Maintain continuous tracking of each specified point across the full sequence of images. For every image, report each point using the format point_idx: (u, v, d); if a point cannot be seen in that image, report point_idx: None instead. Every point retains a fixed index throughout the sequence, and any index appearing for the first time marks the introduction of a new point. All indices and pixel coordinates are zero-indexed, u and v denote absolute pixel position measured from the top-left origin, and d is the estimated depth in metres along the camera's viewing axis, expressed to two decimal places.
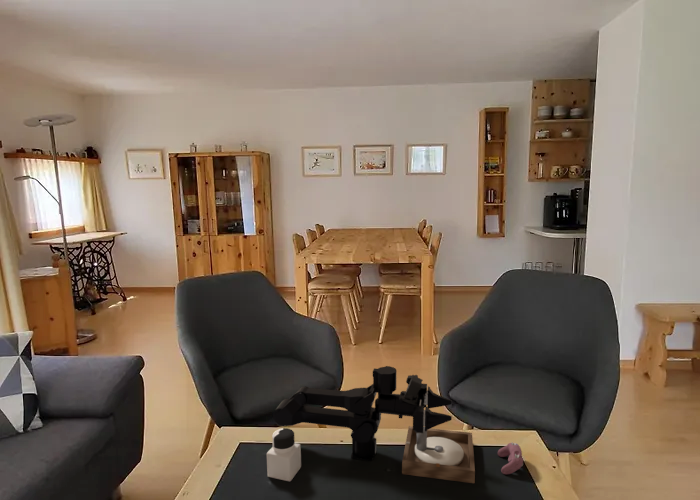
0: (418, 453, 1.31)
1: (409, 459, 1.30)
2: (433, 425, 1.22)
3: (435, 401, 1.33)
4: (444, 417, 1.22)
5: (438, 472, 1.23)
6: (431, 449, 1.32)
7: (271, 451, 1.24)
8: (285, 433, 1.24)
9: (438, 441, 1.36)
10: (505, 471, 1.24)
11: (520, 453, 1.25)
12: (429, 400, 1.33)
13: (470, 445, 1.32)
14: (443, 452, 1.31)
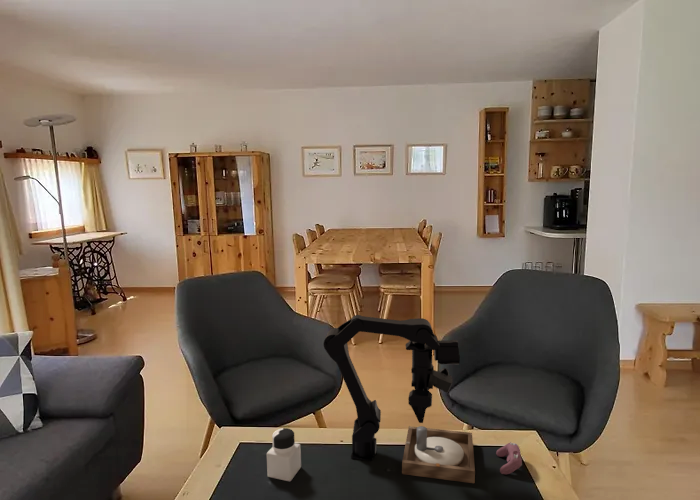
0: (418, 453, 1.31)
1: (409, 459, 1.30)
2: (414, 409, 1.25)
3: None
4: (422, 417, 1.26)
5: (438, 472, 1.23)
6: (431, 449, 1.32)
7: (271, 451, 1.24)
8: (285, 433, 1.24)
9: (438, 441, 1.36)
10: (503, 471, 1.24)
11: (519, 453, 1.25)
12: None
13: (470, 445, 1.32)
14: (443, 452, 1.31)
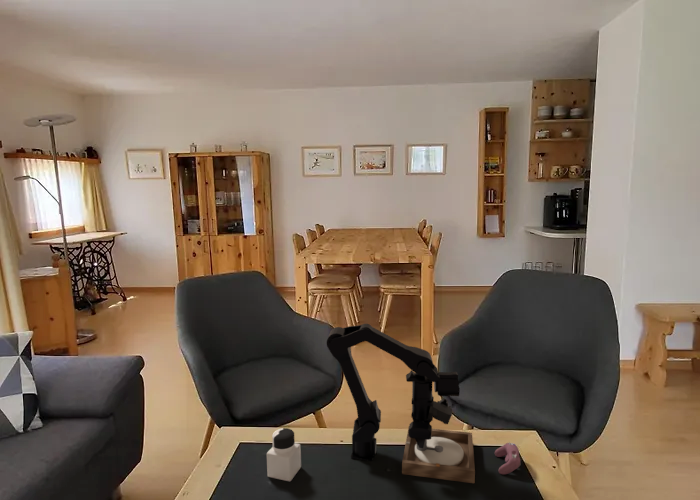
0: (418, 453, 1.31)
1: (409, 459, 1.30)
2: None
3: None
4: (422, 443, 1.30)
5: (438, 472, 1.23)
6: (431, 449, 1.32)
7: (271, 451, 1.24)
8: (285, 433, 1.24)
9: (438, 441, 1.36)
10: (502, 471, 1.24)
11: (517, 453, 1.25)
12: None
13: (470, 445, 1.32)
14: (443, 452, 1.31)
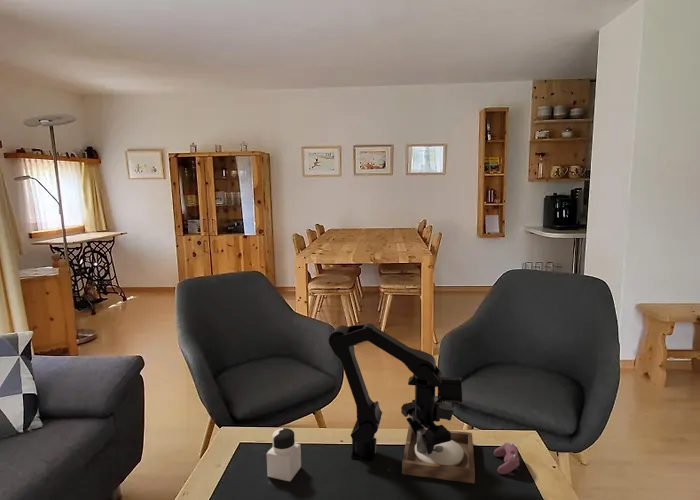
0: (421, 456, 1.29)
1: (409, 459, 1.30)
2: (426, 443, 1.26)
3: None
4: (431, 448, 1.28)
5: (438, 472, 1.23)
6: None
7: (271, 451, 1.24)
8: (285, 433, 1.24)
9: None
10: (501, 471, 1.24)
11: (516, 453, 1.26)
12: (418, 422, 1.33)
13: (470, 445, 1.32)
14: (444, 451, 1.31)
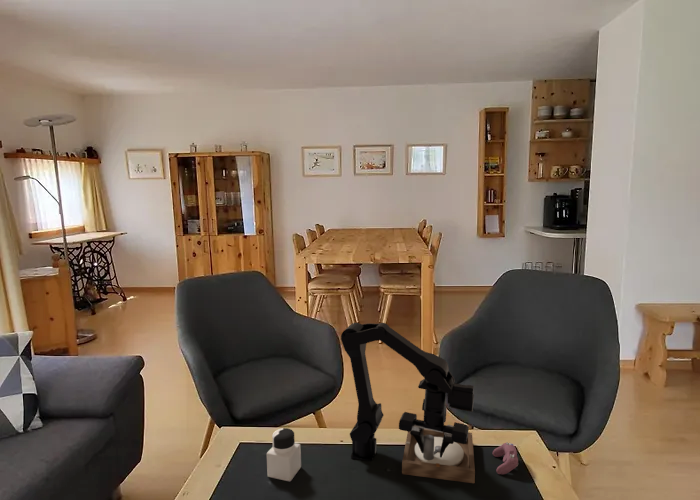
0: (435, 462, 1.26)
1: (409, 459, 1.30)
2: None
3: (422, 438, 1.28)
4: None
5: (438, 472, 1.23)
6: (434, 453, 1.30)
7: (271, 451, 1.24)
8: (285, 433, 1.24)
9: None
10: (500, 471, 1.24)
11: (515, 453, 1.26)
12: (422, 431, 1.28)
13: (470, 445, 1.32)
14: None
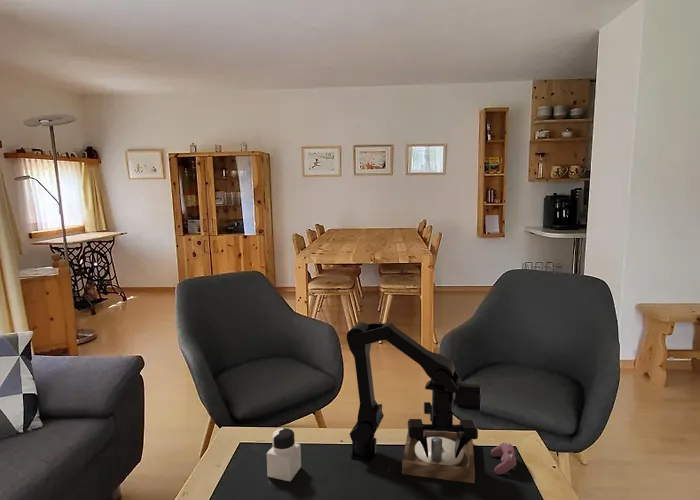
0: (446, 463, 1.26)
1: (409, 459, 1.30)
2: None
3: None
4: None
5: (438, 472, 1.23)
6: None
7: (271, 451, 1.24)
8: (285, 433, 1.24)
9: None
10: (498, 471, 1.24)
11: (513, 453, 1.26)
12: (425, 435, 1.26)
13: (470, 445, 1.32)
14: (443, 448, 1.33)
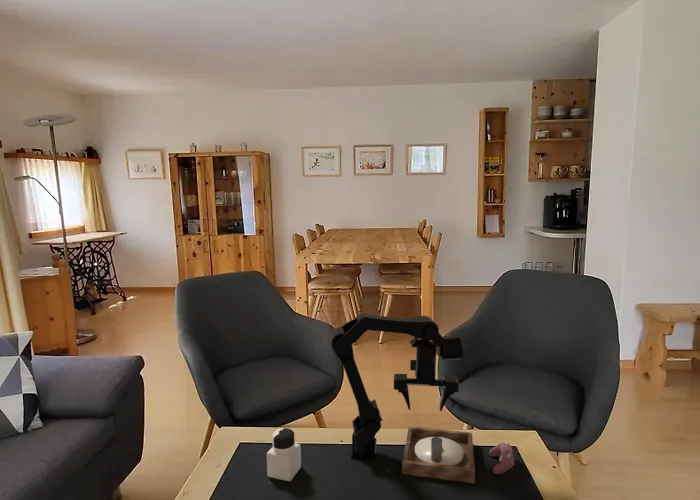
0: (446, 463, 1.26)
1: (409, 459, 1.30)
2: None
3: None
4: None
5: (438, 472, 1.23)
6: None
7: (271, 451, 1.24)
8: (285, 433, 1.24)
9: (423, 447, 1.33)
10: (496, 471, 1.24)
11: (511, 453, 1.26)
12: None
13: (470, 445, 1.32)
14: (443, 448, 1.33)
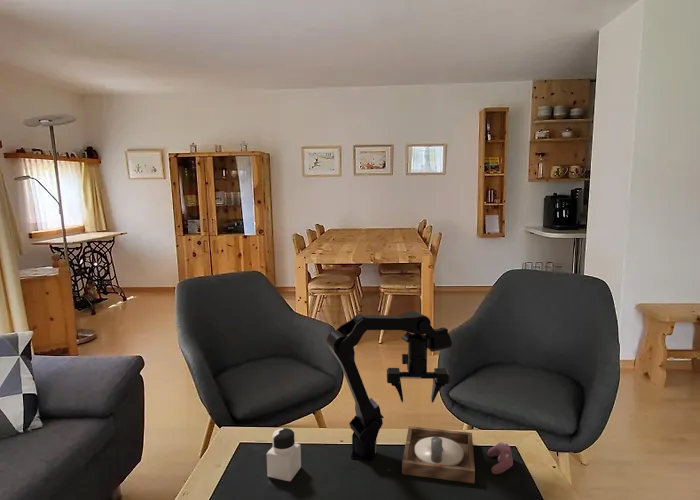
0: (446, 463, 1.26)
1: (409, 459, 1.30)
2: None
3: None
4: None
5: (438, 472, 1.23)
6: None
7: (271, 451, 1.24)
8: (285, 433, 1.24)
9: (423, 447, 1.33)
10: (495, 471, 1.24)
11: (510, 453, 1.26)
12: (400, 382, 1.39)
13: (470, 445, 1.32)
14: (443, 448, 1.33)
